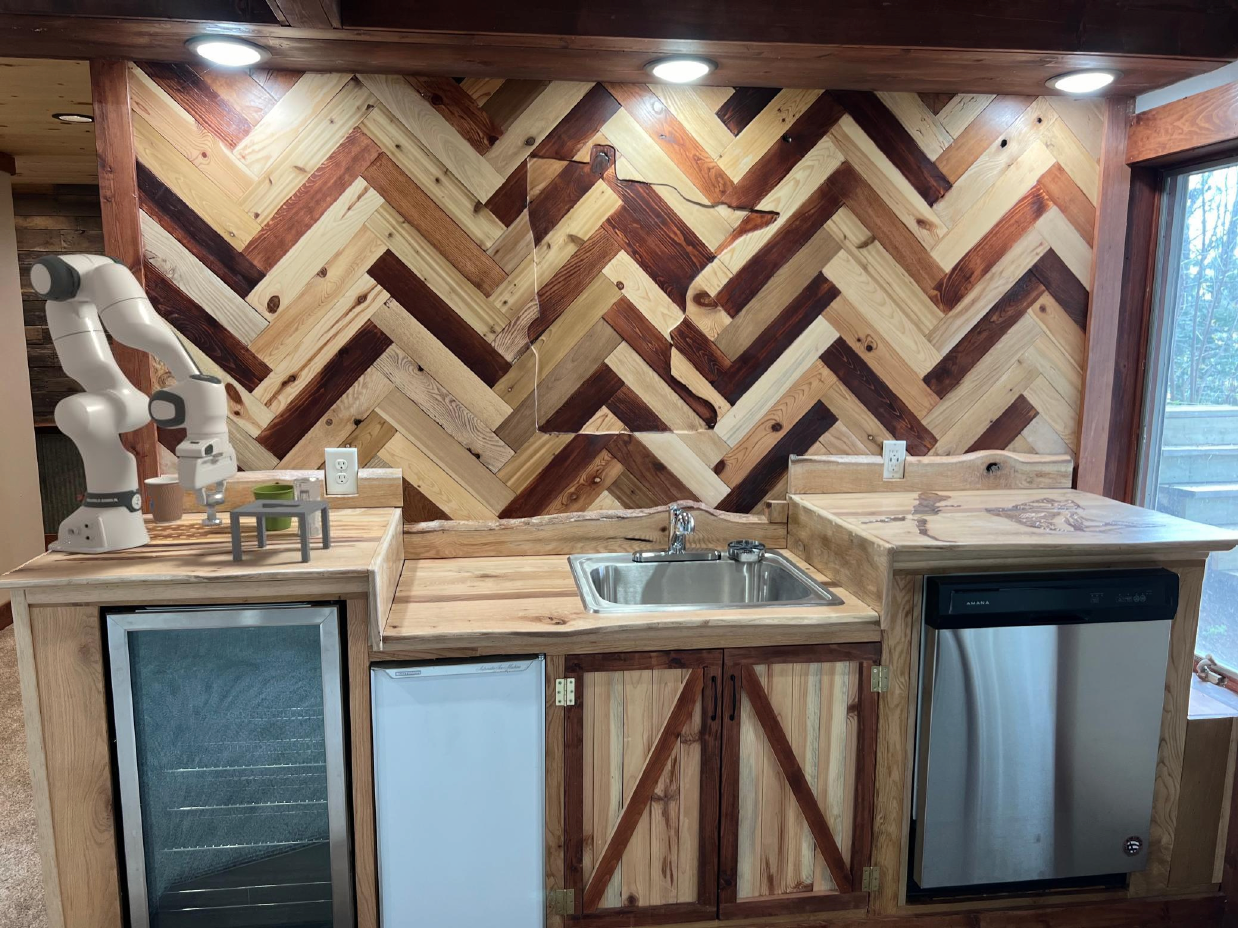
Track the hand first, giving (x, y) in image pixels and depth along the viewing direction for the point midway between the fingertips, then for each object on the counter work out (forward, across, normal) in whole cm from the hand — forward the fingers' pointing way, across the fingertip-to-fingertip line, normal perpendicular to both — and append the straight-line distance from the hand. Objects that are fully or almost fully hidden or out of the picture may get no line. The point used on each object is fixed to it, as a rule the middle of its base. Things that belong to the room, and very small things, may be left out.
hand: (211, 501), depth 202 cm
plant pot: (+14, -30, +2) cm, 33 cm away
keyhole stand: (+13, -3, +16) cm, 21 cm away
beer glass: (+13, -23, +14) cm, 30 cm away
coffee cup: (+15, -37, -33) cm, 52 cm away
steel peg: (+6, 0, 0) cm, 6 cm away
